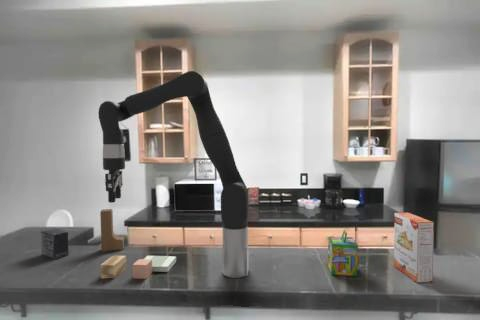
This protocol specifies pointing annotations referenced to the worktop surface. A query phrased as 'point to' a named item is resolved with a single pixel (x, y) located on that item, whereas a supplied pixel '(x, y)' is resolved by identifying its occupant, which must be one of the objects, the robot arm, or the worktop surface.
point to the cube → (142, 268)
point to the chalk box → (342, 255)
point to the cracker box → (414, 246)
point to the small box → (54, 243)
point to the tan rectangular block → (113, 266)
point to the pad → (161, 263)
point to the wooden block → (109, 232)
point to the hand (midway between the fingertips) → (115, 200)
